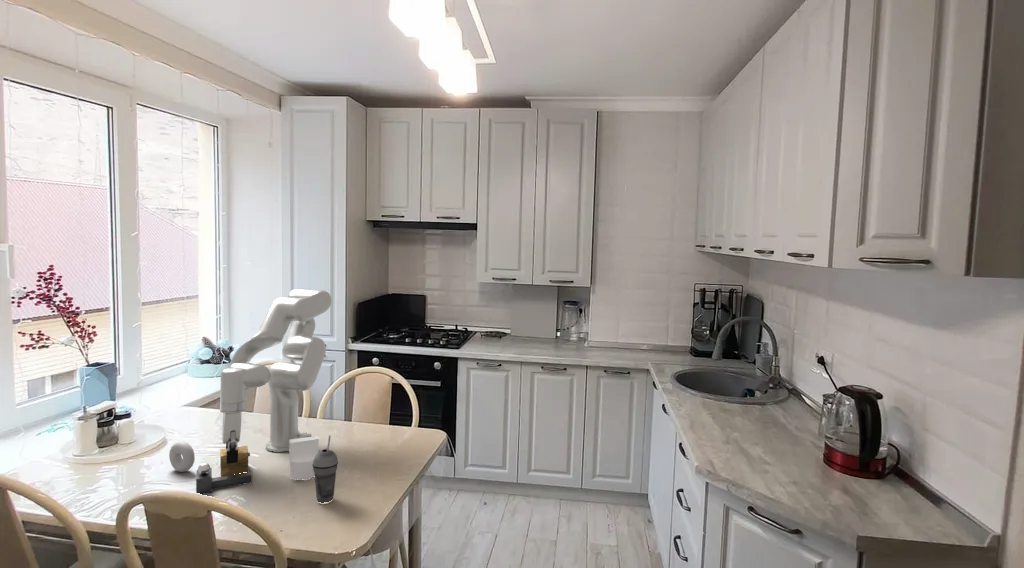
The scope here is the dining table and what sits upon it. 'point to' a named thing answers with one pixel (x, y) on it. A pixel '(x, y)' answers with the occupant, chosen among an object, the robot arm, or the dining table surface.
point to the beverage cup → (325, 473)
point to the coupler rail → (217, 479)
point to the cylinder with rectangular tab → (302, 457)
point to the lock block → (234, 467)
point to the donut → (176, 456)
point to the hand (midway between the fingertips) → (231, 457)
